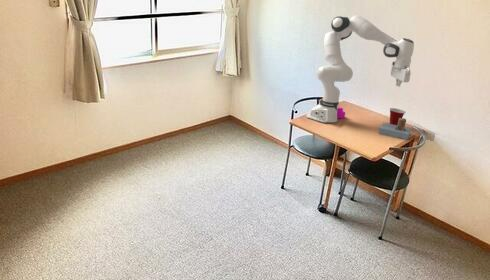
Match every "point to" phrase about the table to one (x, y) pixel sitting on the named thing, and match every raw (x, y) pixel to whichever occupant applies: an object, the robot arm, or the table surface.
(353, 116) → the table surface
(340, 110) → the toy block
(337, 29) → the robot arm
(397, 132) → the socket board
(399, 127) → the walnut peg
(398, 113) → the plastic cup
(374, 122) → the table surface
